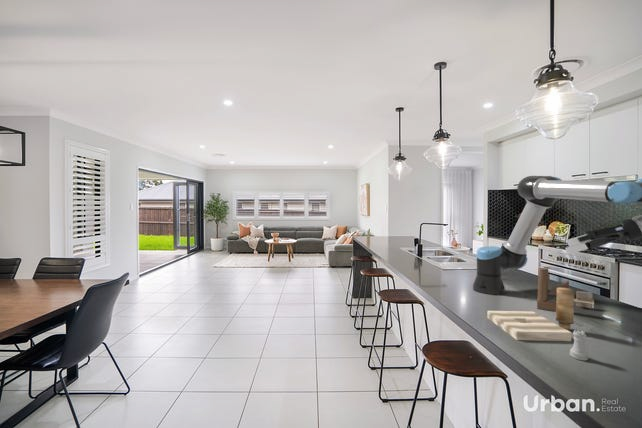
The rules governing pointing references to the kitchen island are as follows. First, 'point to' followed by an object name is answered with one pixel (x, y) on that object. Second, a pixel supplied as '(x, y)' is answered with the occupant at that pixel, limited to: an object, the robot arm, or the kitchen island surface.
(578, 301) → the architectural model
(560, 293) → the oak leg
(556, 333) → the birch board
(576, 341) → the rook chess piece
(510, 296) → the kitchen island surface
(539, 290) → the wooden post with wedge
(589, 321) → the kitchen island surface
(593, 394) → the kitchen island surface
